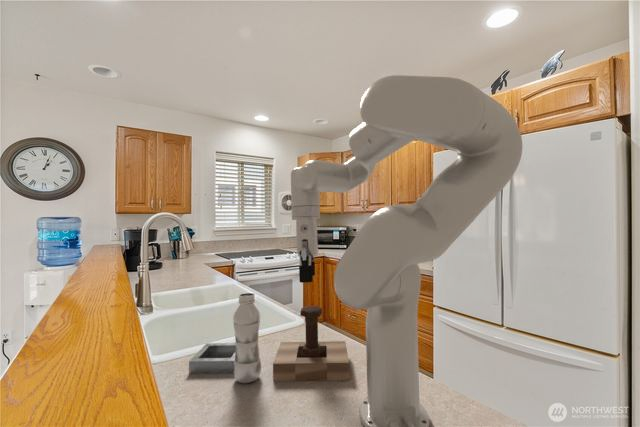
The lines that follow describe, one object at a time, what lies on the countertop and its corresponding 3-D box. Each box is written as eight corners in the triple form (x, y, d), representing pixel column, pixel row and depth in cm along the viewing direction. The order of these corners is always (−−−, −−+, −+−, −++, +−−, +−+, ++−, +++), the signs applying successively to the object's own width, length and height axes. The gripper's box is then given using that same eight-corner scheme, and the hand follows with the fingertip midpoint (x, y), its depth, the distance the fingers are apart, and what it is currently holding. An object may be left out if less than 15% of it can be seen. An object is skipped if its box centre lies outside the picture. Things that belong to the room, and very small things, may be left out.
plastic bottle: (243, 391, 62) (242, 300, 63) (227, 379, 66) (227, 295, 67) (267, 378, 67) (266, 294, 67) (251, 369, 71) (250, 290, 72)
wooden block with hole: (349, 380, 65) (349, 362, 66) (273, 381, 66) (273, 363, 66) (345, 355, 77) (345, 341, 77) (280, 356, 78) (280, 342, 78)
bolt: (319, 374, 68) (318, 312, 69) (299, 372, 69) (298, 311, 70) (324, 362, 74) (323, 305, 74) (305, 361, 75) (304, 304, 75)
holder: (234, 373, 69) (234, 360, 69) (189, 373, 69) (189, 361, 70) (246, 353, 80) (246, 342, 80) (206, 354, 80) (206, 343, 80)
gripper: (318, 211, 66) (320, 284, 65) (321, 215, 83) (323, 273, 82) (286, 212, 66) (288, 285, 65) (296, 216, 83) (297, 273, 82)
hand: (307, 278), depth 73 cm, fingers open, 9 cm apart
